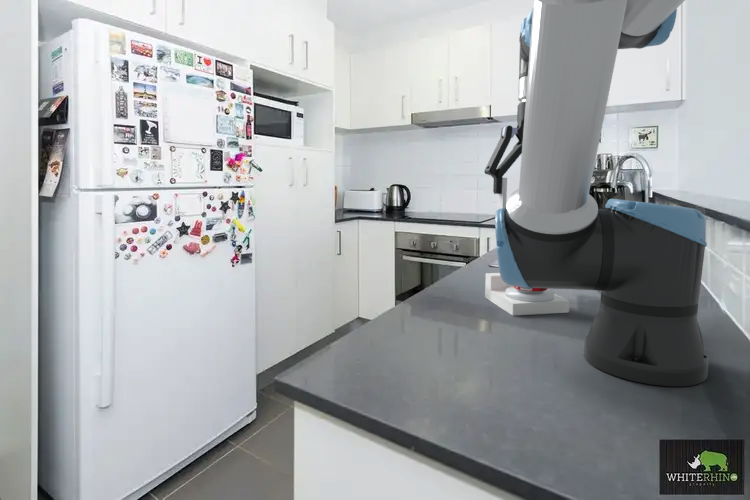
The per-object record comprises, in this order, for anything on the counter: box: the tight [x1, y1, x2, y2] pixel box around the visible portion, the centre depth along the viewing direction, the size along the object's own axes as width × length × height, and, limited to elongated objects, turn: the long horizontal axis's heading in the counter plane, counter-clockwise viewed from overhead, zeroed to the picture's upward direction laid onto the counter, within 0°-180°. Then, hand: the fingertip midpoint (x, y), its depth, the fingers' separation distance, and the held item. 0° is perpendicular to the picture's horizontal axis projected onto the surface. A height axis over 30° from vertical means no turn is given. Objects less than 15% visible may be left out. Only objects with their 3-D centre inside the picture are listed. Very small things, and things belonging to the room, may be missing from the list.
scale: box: [484, 272, 571, 317], centre depth 93 cm, size 14×12×6 cm
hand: (533, 210), depth 88 cm, fingers open, 13 cm apart
